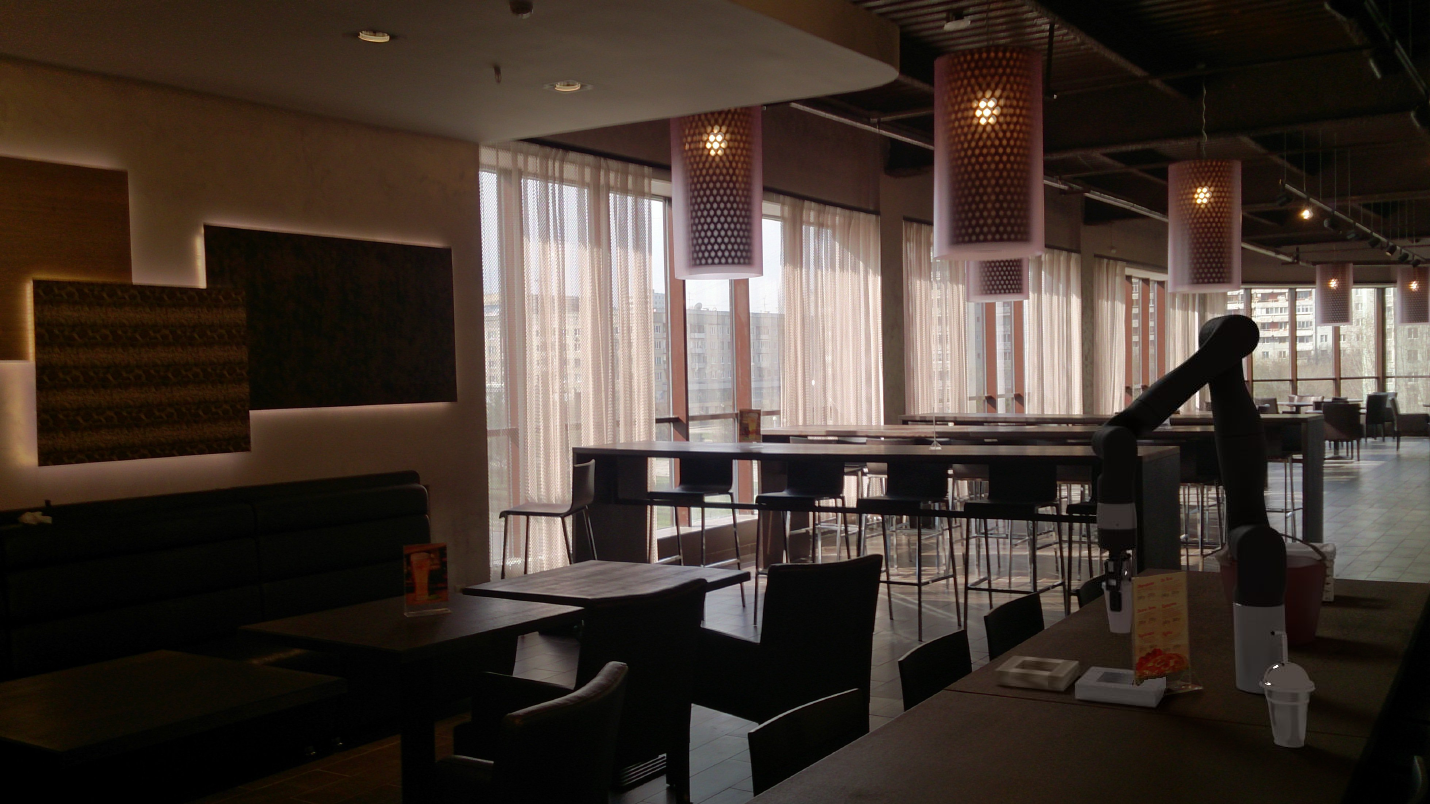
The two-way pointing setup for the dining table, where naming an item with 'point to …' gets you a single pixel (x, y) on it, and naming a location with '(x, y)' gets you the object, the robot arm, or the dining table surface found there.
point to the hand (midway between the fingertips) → (1119, 607)
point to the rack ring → (1118, 687)
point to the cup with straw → (1287, 699)
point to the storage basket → (1327, 549)
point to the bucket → (1288, 591)
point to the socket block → (1037, 673)
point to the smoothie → (1122, 620)
